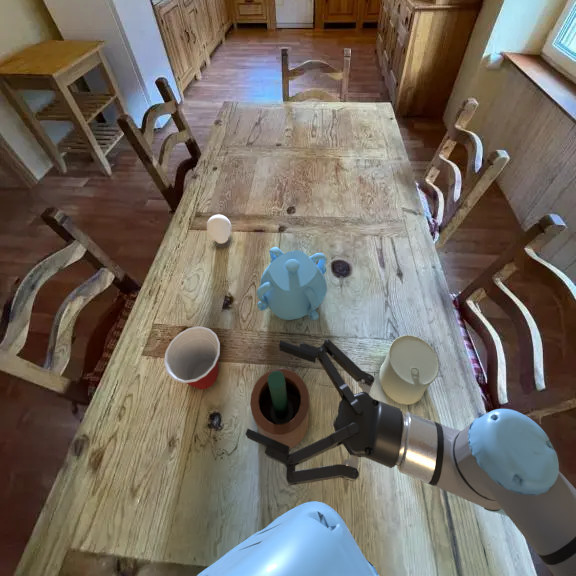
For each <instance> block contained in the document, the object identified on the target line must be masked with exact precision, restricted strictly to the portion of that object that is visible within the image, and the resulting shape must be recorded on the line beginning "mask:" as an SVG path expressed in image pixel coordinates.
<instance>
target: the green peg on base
mask: <svg viewBox="0 0 576 576" xmlns="http://www.w3.org/2000/svg"><path fill="white" fill-rule="evenodd" d="M268 385H269V389H270V394H271V398H272V405H271V408H270V416H271V420H272V423H273V424H281V425H282V424H285V423H288V422H290V421H291V420H292V419H293V418H294V410H293V406H292V404H291V402H290V401H289V400H288V399H287V393H286V385H285V377H284V375H283V373H282V372H280V371H273V372H271V373H270V374H269V376H268Z"/></svg>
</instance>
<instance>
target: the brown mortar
mask: <svg viewBox="0 0 576 576" xmlns="http://www.w3.org/2000/svg"><path fill="white" fill-rule="evenodd" d="M273 371H280V372H282V373H283V375H284V377H285V385H286V393H287V399H288V400H289V401H290V402H291V404H292V406H293V410H294V418H293V419H292V420H291V421H290V422H288V423H285V424H282V425H281V424H273V423H272V420H271V416H270V408H271V405H272V398H271V394H270V389H269V385H268V376H269V374H270V373H271V372H273ZM249 404H250V410H251V415H252V417H253V420H254V423H255V425H256V428H257V431H258V433H260V434H262V435H264V436H266V437H269V438H271V439H273V440H276V441H278V442H280V443H282V444H285V445H287V446H289V449H290V450H291V449H293V448H295V447H296V446H298V445H300V443H301V442H302V441H303V439H304V438H305V436H306V433H307V430H308V427H309V421H310V419H309V418H310V417H309V416H310V394H309V390H308V387H307V384H306V383H305V382H304V380H303V378H302V377H301V376H300V375H299V374H298V373H296V372H295V371H293V370H291V369H288V368H280V367H279V368H278V367H276V368H273V369H270V370H268V371H267V372H264V373H263V374H262V375H261V376H260V377H259V378H258V379H257V381H256V382H255V383H254V385H253V388H252V391H251V393H250V403H249Z"/></svg>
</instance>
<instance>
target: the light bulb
mask: <svg viewBox="0 0 576 576" xmlns="http://www.w3.org/2000/svg"><path fill="white" fill-rule="evenodd" d="M232 230H233V229H232V223H231V221H230V219H229V218H228V217H227V216H225V215H223V214H220V213H219V214H214V215H212V216H211V217H209V218H208V220H207V222H206V232H207V235H208V236H209V238H210V239H211V240H213V241H215V245H216V246H217V247H218V248H225V247H228V246H229V245H230V243H231V238H230V236H231V234H232Z"/></svg>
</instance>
